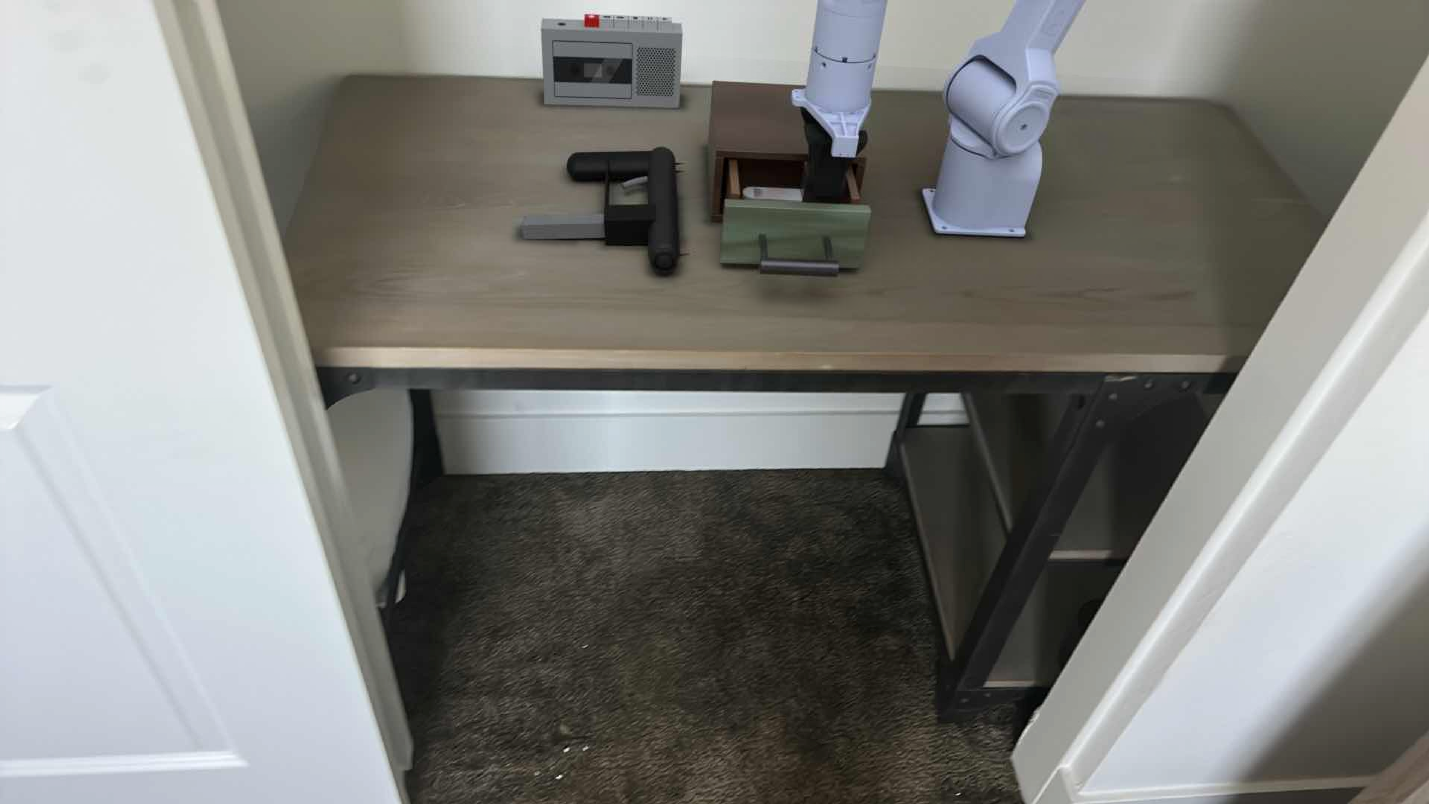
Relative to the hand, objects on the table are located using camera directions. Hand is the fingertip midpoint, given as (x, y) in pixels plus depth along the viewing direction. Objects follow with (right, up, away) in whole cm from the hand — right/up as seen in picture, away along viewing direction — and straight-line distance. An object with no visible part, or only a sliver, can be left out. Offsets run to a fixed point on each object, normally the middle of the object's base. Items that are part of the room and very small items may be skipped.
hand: (822, 186), depth 98 cm
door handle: (-21, -2, +6) cm, 22 cm away
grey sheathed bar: (-3, -1, +1) cm, 3 cm away
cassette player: (-22, +15, +24) cm, 36 cm away
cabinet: (-3, +3, +12) cm, 13 cm away
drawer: (-3, -5, +3) cm, 6 cm away
